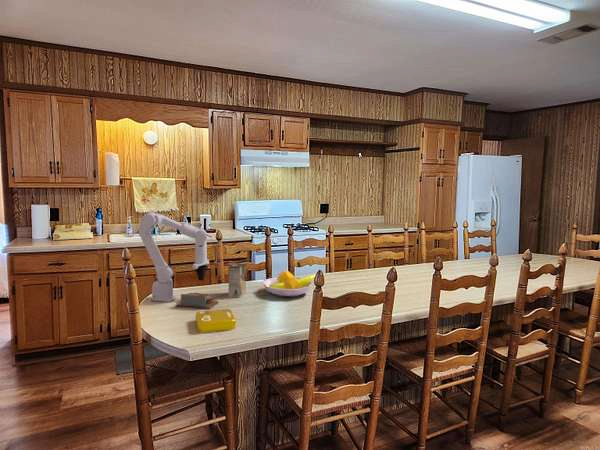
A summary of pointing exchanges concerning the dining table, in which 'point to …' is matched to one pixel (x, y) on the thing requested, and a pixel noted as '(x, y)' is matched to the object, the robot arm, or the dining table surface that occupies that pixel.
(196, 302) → the bookend
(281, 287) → the fruit bowl
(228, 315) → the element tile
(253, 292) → the dining table surface
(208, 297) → the tin
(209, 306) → the shelf board
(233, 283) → the coffee box
